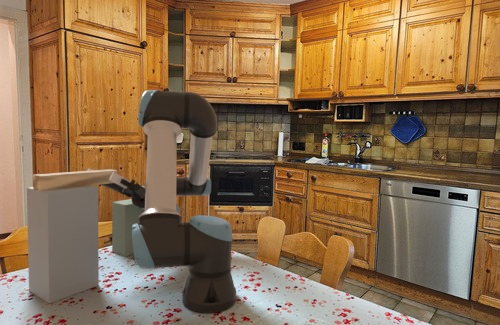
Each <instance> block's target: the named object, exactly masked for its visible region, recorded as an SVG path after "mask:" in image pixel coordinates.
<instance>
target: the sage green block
mask: <svg viewBox="0 0 500 325" xmlns="http://www.w3.org/2000/svg"><path fill="white" fill-rule="evenodd" d="M111 209H112V210H111V212H112V213H111V216H112V217H111V218H112V220H111V224H112V225H111V226H112V228H111V232H112V233H111V236H112V237H111V240H112V241H111V243H112V244H111V246H112V247H111V250H112V253H115V254H117V255H120V256H123V257H128V256H131V255H134V251H133V241H132V225H133V224H135V223H137V224H138V219H139V216H140V215H141V214H142V213H143V212H144V211H145V210H144V209H142V208H139V207H137V206H135V205H133V203H132V198H129V199H123V200H116V201H112V203H111Z"/></svg>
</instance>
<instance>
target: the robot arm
mask: <svg viewBox="0 0 500 325" xmlns="http://www.w3.org/2000/svg"><path fill="white" fill-rule="evenodd" d="M137 117H138V126H139V127H141V128H142V131H143V133H144V134H145V135H146V136H147V150H146V151H147V152H146V153H147V154H146V172H145V173H146V176H145V185H140V183H136V180H135V179H131V180H129V179H127V177H124V176H122V175H121V174H118V172H117V173H115V172H113V173H112V175H111V177H110V179H109V180H110V181H112V182H114V183H109V184H100V185H98V186H99V187H101V186H103V187H105V188H107V189H109V190H112V191H114V192H117V193H119V194H122V195H123V196H125V197H128V198H129V199H132V203H133V205H135V206H137V207H139V208H142V209H144V210H145V211H144V212H143V213H142V214H141V215H140V216H139V219H138V224H137V223H135V224H133V225H132V241H133V251H134V254H133V256H134V261H135V264H136V266H138V267H139V268H141V269H153V270H154V269H156V268H157V269H159V268H171V267H172V268H174V267H188V268H189V270H188V272H189V273H188V275H187V278H186V281H185V284H184V288H183V290H182V297H181V298H182V299H181V300H182V301H181V302H182V304H183V305H184V306H185V308H186V309H188V310H190V311H194V312H195V313H196V312H197V313H202V314H203V313H205V314H212V313H214V314H215V313H220V312H223V311H226V310H228V309H230V308H232V307H233V306H234V304H236V301H237V290H236V289H237V288H236V287H235V283H234V279H233V275H232V270H231V269H232V249H233V248H232V245H233V244H232V241H233V231H232V228H233V227H232V225H231V223H230V222H229V221H228V220H227V219H224V218H220V217H218V216H214V215H213V216H212V215H202V214H200V215H199V214H198V215H194V216H191V217H190V218H189V222H183V221H182V218H183V217H182V215H181V214H180V213H181V208H180V206H179V204H177V197H180V196H181V197H184V196H187V197H188V196H189V197H195V196H196V197H202V196H210V194H211V192H212V181H211V178H210V177H208V173H209V168H210V160H211V151H212V144H213V137H214V136H216V134H217V129H218V120H217V119H218V118H217V115H216V111H215V109H214V107H212V105H211V103H210V102H209V101H208V100H207V99H206V98H205V97H204V96H202V95H201V94H199V93H196V92H194V91H192V92H191V91H173V90H172V91H171V90H160V89H147V90H145V91H144V92H143V93H142V95H141V98H140V102H139V106H138V116H137ZM182 129H188V132H189V133H190V147H189V160H188V175H187V177H185V176H181V177H179V176H178V177H177V166H178V165H177V162H178V161H177V158H178V157H177V156H178V155H177V151H178V150H177V148H178V147H177V144H178V138H177V137H179V136H180V135H181V134H182ZM92 170H93V169H91V168H87V170H86V171H92Z"/></svg>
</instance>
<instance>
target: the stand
mask: <svg viewBox="0 0 500 325" xmlns="http://www.w3.org/2000/svg"><path fill="white" fill-rule="evenodd" d="M26 208H27V209H26V210H27V211H26V215H27V253H28V254H27V260H28V261H27V262H28V263H27V264H28V291H29V292H30V293H31V294H33V295H35V296H36V297H38V298H40V299H42V301H44V302H46V303H48V304H53V303H55V302H58V301H61V300H63V299H66V298H69V297H71V296H73V295H74V296H75V295H76V294H77V295H78V294H79V293H82V292H84V291H87V290H90V289H92V288H95V287H97V286H99V285H100V284H99V282H100V281H99V280H100V279H99V276H100V275H99V272H100V271H99V269H100V268H99V267H100V266H99V262H100V260H99V187H98V186H97V185H91V186H81V187H72V188H63V189H54V190H45V191H38V190H34V189H33V186H30V187H26Z"/></svg>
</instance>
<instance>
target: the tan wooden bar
mask: <svg viewBox="0 0 500 325" xmlns="http://www.w3.org/2000/svg"><path fill="white" fill-rule="evenodd" d="M113 172H115V173H117V174H118V170H117V169H112V168H110V169H95V170H94V169H92V171H87V170H81V171H79V170H78V171H69V172H52V173H42V174H41V173H40V174H37V173H36V174H33V175H32V187H33V189H34V190H38V191H45V190H54V189H63V188H72V187H81V186H97V185H98V186H99V185H100V184H109V183H114V182H112V181H110V180H109V179H110V177H111V175H112V173H113Z"/></svg>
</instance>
